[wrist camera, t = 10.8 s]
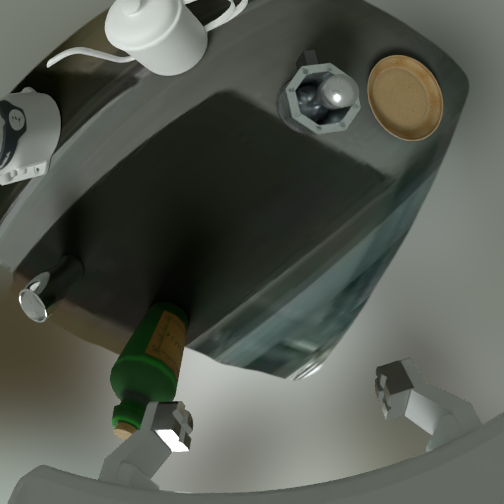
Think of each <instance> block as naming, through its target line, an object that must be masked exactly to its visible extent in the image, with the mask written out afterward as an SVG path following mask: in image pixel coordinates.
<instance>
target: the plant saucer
mask: <svg viewBox="0 0 504 504" xmlns="http://www.w3.org/2000/svg"><path fill="white" fill-rule="evenodd" d="M367 92H368V99H369V103H370V106H371V109H372V111H373V114H374V115H375V117H376V119H377V120H378V122H379V123H380V124H381V125H382V126H383V127H384V128H385V129H386V130H387V131H388V132H389V133H390V134H392V135H394V136H395V137H397V138H400V139H403V140H407V141H418V140H422V139H425V138H427V137H428V136H430V135H431V134H432V133H433V132H434V131H435V130H436V129H437V127H438V125H439V124H440V121H441V118H442V113H443V98H442V93H441V90H440V87H439V85H438V83H437V81H436V79H435V77H434V76H433V74H432V73H431V72H430V71H429V70H428V69H427V68H426V67H425V66H424V65H423V64H421V63H420V62H419V61H417V60H415V59H413V58H411V57H407V56H403V55H392V56H388V57H386V58H384V59H382V60H380V61H379V62H378V63H377V64H376V65H375V66H374V68H373V69H372V71H371V73H370V76H369V79H368V86H367Z"/></svg>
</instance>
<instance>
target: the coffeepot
mask: <svg viewBox="0 0 504 504" xmlns="http://www.w3.org/2000/svg"><path fill="white" fill-rule="evenodd" d="M193 1H196V0H116V1H115V2H114V4H113V5H112V6H111V8H110V10H109V12H108V15H107V18H106V22H105V32H106V36H107V38H108V40H109V41H110V43H111V44H112V45H114V46H115V47H117V48H119V49H121V50H124V51H125V52H127V53H128V54H129V55H131V56H128V57H118V56H114V55H110V54H107V53H104V52H100V51H96V50H93V49H89V48H85V47H75V48H71V49H68V50H65V51H63V52H61V53H59V54H58V55H56V56H54V57H53V58H51V59H50V60H49V61H48V63H47V68H49V67H50V66H51V65H53V64H54V63H56V62H58V61H59V60H61V59H63V58H64V57H67V56H69V55H72V54H78V53H80V54H86V55H90V56H94V57H98V58H102V59H106V60H110V61H114V62H129V61H132V60H135V59H136V60H137V61H139V62H140V63H141V64H142V65H144V66H145V67H146V68H148V69H149V70H150V71H152V72H154V73H156V74H159V75H166V76H170V75H177V74H180V73H183V72H185V71H187V70H189V69H191V68H192V67H193V66H195V65H196V64H197V63H198V62H199V61H200V59H201V58H202V57H203V55H204V53H205V51H206V48H207V35H208V33H207V32H208V31H210V30H212V29H214V28H216V27H218V26H220V25H222V24H224V23H226V22H227V21H229V20H231V19H232V18H234V17H235V16H237V15H238V14H239V13H240V12H242V11H243V10H244V8H245V7H246V5H247V3H248V0H242V1H241V2H240V4H239V5H238V6H237V7H235V5H234V2H233V0H229V1H230V2H231V5H230V7H229V9H228V10H227V11H226V12H225V13H224V14H222V15H221V16H220V17H219V18H217V19H216V20H214V21H212V22H210V23H209V24H207V25H205V26H204V27H203V25H202V24H201V23H200V22H199V21H198V19H197V18H196V17H195V16H194V15H193V14H192V13H191V11H190V10H189V9H188V8H187V7H186V6H185V4H187V3H191V2H193Z"/></svg>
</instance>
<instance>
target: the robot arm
mask: <svg viewBox="0 0 504 504" xmlns="http://www.w3.org/2000/svg"><path fill="white" fill-rule="evenodd" d="M60 129H61V119H60V113H59V109H58V107H57V104H56V103H55V101H54V100H53V99H52V98H51V97H50V96H49V95H47V94H43V93H37V92H36V91H35V90H34V89H33V88H31V87H26V88H24V89H23V90H22V91H21V92H20V93H12V94H5V95H3V96H2V98H1V99H0V184H1V185H6V184H9V183H13V182H17V181H21V180H24V179H28V178H32V177H36V176H41V175H45V174H46V173H47V172H48V169H49V164H50V158H51V156H52V154H53V152H54V150H55V148H56V146H57V143H58V140H59V136H60ZM38 168H39V170H38ZM376 376H377V379H376V380H375V391H376V395H377V398H378V400H379V401H380V402H382V411H383V414H384V416H385V419H386V420H388V419H392V418H395V417H398V416H401V415H404V414H405V416H406V417H407V418H409V419H410V420H412V421H413V422H414V423H416V424H417V425H419V426H420V427H421V428H423V429H424V430H425V431H427V432H428V433H430V434H431V435H432V437H431V439H430V441H429V443H428V445H427V447H426V450H427V452H424V453H422V454H420V455H417V456H414V457H412V458H409V459H406V460H404V461H401V462H398V463H395V464H392V465H389V466H386V467H383V468H380V469H376V470H373V471H369V472H366V473H362V474H358V475H355V476H351V477H347V478H343V479H338V480H333V481H329V482H324V483H318V484H313V485H307V486H301V487H294V488H286V489H278V490H268V491H256V492H239V493H193V492H175V491H164V490H163V491H162V490H159V486H158V485H157V484H156V483H154V482H153V481H152V480H151V478H152V477H153V475H154V474H155V473H156V472H157V470H158V469H159V468H160V466H161V465H162V464H163V463H164V462H165V460H166V459H167V458H168V457H169V455H170V454H171V452H172V451H189V449H190V442H191V438H190V436H189V434H190V433H191V432H192V430H193V419H192V416H191V414H190V412H189V411H187V410H185V405H184V404H183V402H182V401H175V402H174V401H172V402H149V403H148V405H147V408H146V411H145V414H144V417H143V421H142V424H141V427H140V430H136V431H135V432H134V433H133V434H132V435H131V436H130V437H129V438H128V439H127V440H125V441H124V442H123V443H122V444H121V445H120V446H119V447H118V448H117V449H116V450H114V451H113V452H112V453H111V454H110V455H109V456H108V457H107V458H105V460H104V463H103V466H102V469H101V473H100V476H99V479H98V480H96V479H91V478H87V477H83V476H80V475H76V474H72V473H69V472H65V471H62V470H58V469H56V468H53V467H49V466H46V465H40V466H38V467H36V468H35V469H33V470H32V471H30V472H29V473H27V474H26V475H25V476H23V477H22V478H21V479H20V480H19V482H18V483H17V485H16V486H15V488H14V490H13V492H12V494H11V497H10V499H9V501H8V504H504V412H503V413H501V414H499V415H498V416H496V417H494V418H493V419H491V420H490V421H488V422H486V423H484V424H482V423H481V421H480V419H479V417H478V416H477V414H476V412H475V410H474V408H473V406H472V405H471V403H469V402H467V401H465V400H463V399H461V398H459V397H457V396H455V395H453V394H451V393H449V392H447V391H445V390H443V389H441V388H439V387H437V386H435V385H433V384H431V383H426V382H425V381H424V379H423V377H422V375H421V373H420V372H419V370H418V368H417V366H416V365H415V363H414V361H413V359H412V358H411V357H408V358H405V359H402V360H399V361H395V362H392V363H389V364H386V365H383V366H379V367H377V368H376Z"/></svg>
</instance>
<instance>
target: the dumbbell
mask: <svg viewBox="0 0 504 504" xmlns="http://www.w3.org/2000/svg"><path fill="white" fill-rule="evenodd" d="M295 93H296V97H297V101H298V105H299V110H300V113H301V114H303V115H304V116H306V117H307V118H309V119H310V120H312V121H313V122H314V121H318V120H320V119H322V118H323V117H324V116H325V115H326V114H327V112H328V109H338V108H343V107H347V106H351V105H353V104H354V103H355V102H356V101H357V99H358V97H359V88H358V85H357V83H356V82H355V81H354V79H352V78H351V77H350V76H347V75H344V74H337V75H334V76H332V77H331V78H329V79H328V80H326V81H324V82H323V83H321V84H320V86H319V87H318V88H317V87H314V86H305V87H302V88H300V89H299V90H297V91H296V92H295Z"/></svg>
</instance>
